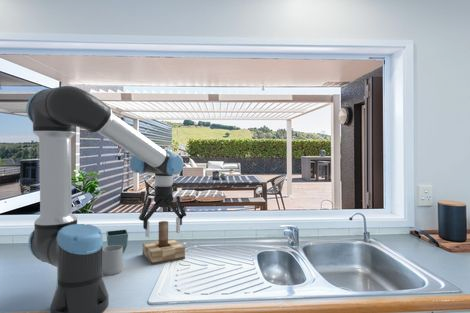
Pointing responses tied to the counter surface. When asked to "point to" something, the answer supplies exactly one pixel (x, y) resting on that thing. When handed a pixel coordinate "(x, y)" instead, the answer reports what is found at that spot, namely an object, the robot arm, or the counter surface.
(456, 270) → the counter surface
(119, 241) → the flower pot
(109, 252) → the cup
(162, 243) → the pin
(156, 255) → the socket block
